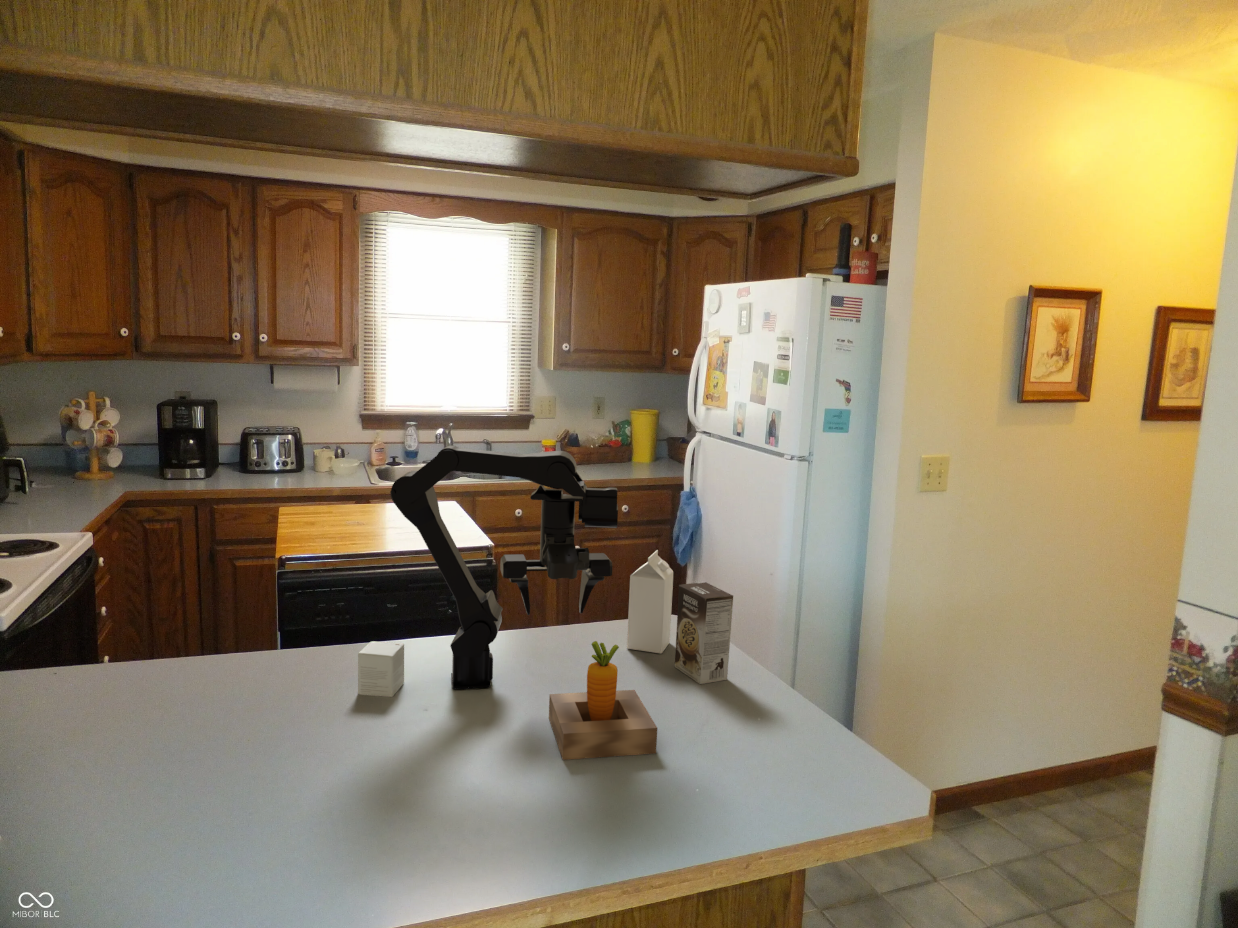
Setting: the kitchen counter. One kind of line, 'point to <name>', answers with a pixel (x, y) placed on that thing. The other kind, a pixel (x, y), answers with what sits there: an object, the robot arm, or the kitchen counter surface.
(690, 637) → the coffee box
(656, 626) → the milk carton
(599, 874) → the kitchen counter surface
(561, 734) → the walnut socket block
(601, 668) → the carrot
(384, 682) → the product box
